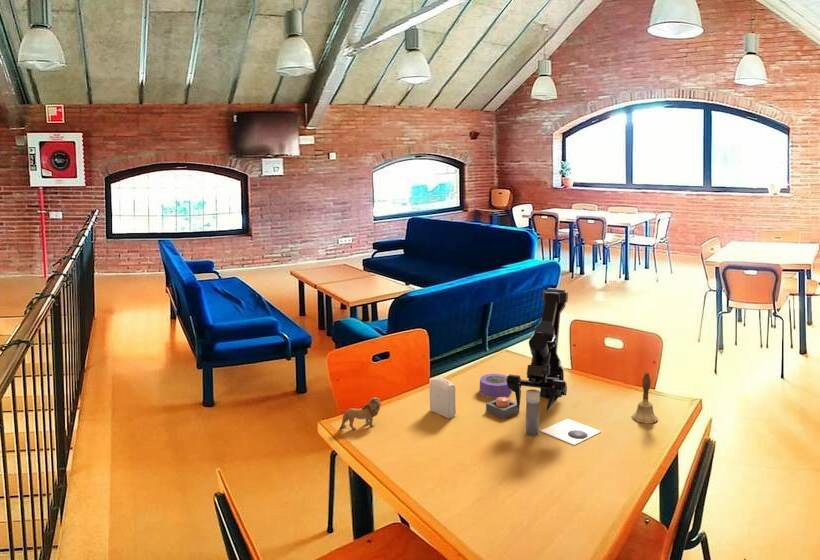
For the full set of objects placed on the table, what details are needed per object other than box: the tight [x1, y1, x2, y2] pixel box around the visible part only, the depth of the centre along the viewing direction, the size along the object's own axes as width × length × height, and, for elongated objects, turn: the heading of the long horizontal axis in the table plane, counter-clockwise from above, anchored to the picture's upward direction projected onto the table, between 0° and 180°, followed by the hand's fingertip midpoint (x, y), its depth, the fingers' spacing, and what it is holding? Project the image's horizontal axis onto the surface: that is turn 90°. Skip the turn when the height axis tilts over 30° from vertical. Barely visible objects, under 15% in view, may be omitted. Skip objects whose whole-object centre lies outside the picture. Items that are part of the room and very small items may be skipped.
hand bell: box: [631, 372, 659, 424], centre depth 220 cm, size 8×8×16 cm
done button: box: [495, 396, 511, 408], centre depth 228 cm, size 5×5×4 cm
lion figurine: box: [338, 396, 382, 431], centre depth 218 cm, size 15×5×9 cm, turn 117°
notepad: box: [540, 418, 602, 446], centre depth 213 cm, size 14×13×1 cm
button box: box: [485, 399, 520, 420], centre depth 229 cm, size 8×8×3 cm
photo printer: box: [429, 377, 457, 419], centre depth 227 cm, size 10×4×12 cm, turn 39°
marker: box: [525, 389, 541, 437], centre depth 211 cm, size 4×4×14 cm
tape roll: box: [479, 373, 513, 399], centre depth 247 cm, size 12×12×5 cm
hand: (532, 409), depth 211 cm, fingers open, 9 cm apart
